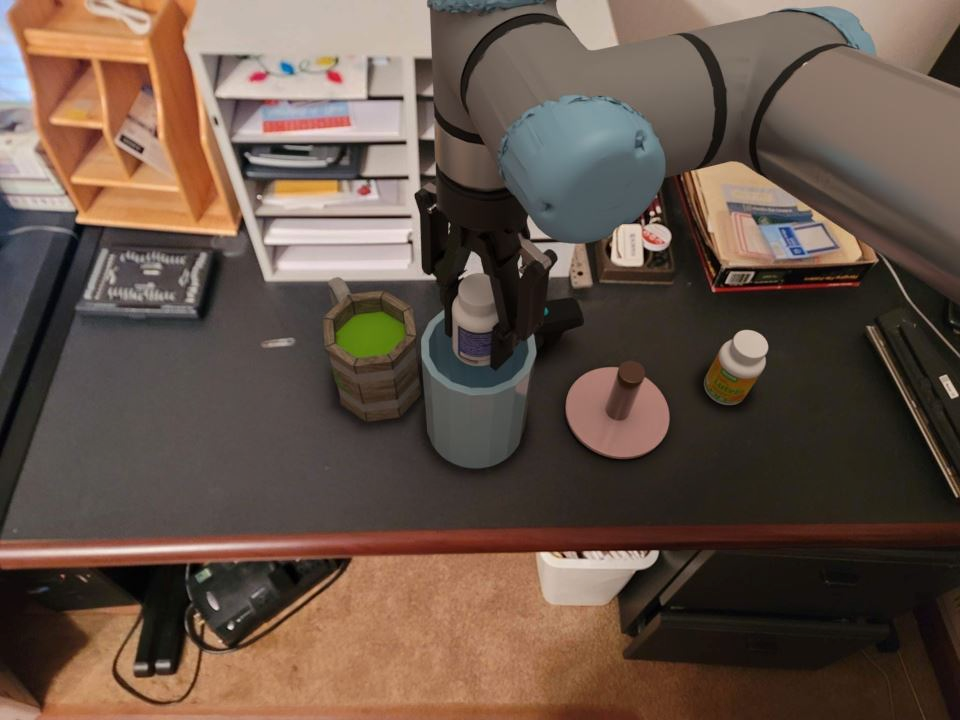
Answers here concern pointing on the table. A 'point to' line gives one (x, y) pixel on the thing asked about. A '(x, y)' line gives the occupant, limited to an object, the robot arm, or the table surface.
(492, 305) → the pill bottle
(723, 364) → the supplement bottle
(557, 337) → the controller
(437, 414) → the tin
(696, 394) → the table surface
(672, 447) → the table surface
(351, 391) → the mug
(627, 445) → the lid
